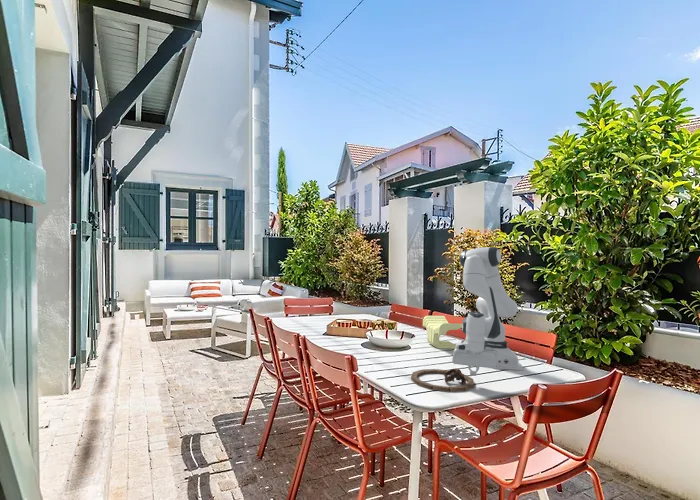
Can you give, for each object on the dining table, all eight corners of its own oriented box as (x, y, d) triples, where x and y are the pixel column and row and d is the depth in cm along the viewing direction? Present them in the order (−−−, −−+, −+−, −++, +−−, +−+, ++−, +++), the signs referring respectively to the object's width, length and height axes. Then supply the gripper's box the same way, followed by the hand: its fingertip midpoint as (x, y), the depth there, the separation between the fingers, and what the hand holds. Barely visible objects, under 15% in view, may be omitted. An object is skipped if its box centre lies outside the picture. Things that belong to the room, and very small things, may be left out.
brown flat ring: (472, 376, 214) (472, 372, 214) (474, 394, 185) (474, 391, 185) (414, 369, 221) (415, 366, 221) (408, 386, 193) (408, 383, 193)
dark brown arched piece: (466, 389, 193) (458, 374, 193) (448, 395, 198) (440, 379, 198) (470, 376, 204) (462, 362, 204) (452, 381, 208) (444, 367, 208)
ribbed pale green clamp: (422, 340, 294) (423, 315, 294) (443, 340, 297) (444, 315, 297) (438, 351, 264) (439, 323, 264) (461, 351, 267) (462, 323, 267)
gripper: (497, 347, 200) (495, 376, 199) (453, 342, 205) (451, 370, 205) (498, 350, 193) (496, 379, 193) (452, 345, 199) (451, 374, 199)
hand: (473, 375), depth 199 cm, fingers closed
